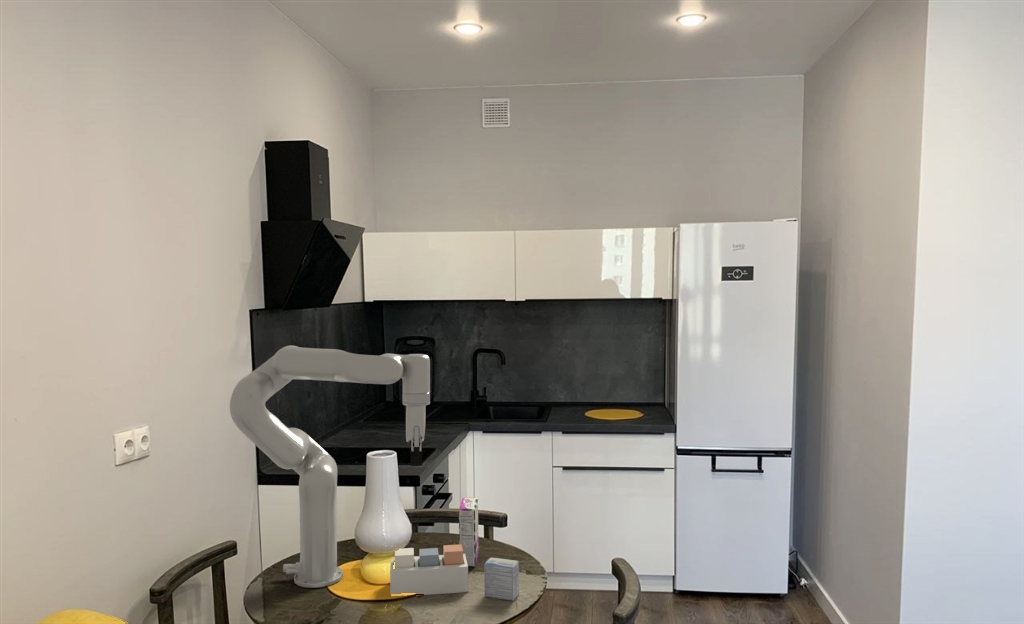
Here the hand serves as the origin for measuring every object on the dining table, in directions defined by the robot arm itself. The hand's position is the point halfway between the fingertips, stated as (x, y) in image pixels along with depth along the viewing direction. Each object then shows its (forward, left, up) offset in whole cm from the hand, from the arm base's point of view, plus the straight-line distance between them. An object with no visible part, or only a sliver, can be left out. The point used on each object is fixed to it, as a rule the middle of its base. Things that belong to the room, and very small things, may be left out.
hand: (416, 464), depth 183 cm
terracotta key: (+9, -12, -25) cm, 30 cm away
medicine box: (+21, -20, -29) cm, 41 cm away
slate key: (+3, -12, -26) cm, 29 cm away
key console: (+3, -12, -29) cm, 32 cm away
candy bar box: (+15, +5, -29) cm, 33 cm away
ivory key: (-3, -12, -26) cm, 29 cm away
